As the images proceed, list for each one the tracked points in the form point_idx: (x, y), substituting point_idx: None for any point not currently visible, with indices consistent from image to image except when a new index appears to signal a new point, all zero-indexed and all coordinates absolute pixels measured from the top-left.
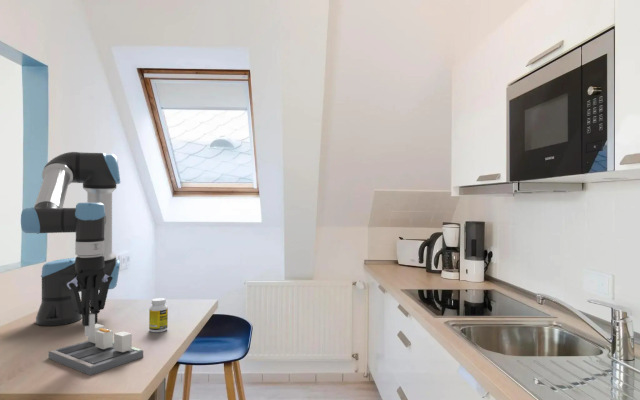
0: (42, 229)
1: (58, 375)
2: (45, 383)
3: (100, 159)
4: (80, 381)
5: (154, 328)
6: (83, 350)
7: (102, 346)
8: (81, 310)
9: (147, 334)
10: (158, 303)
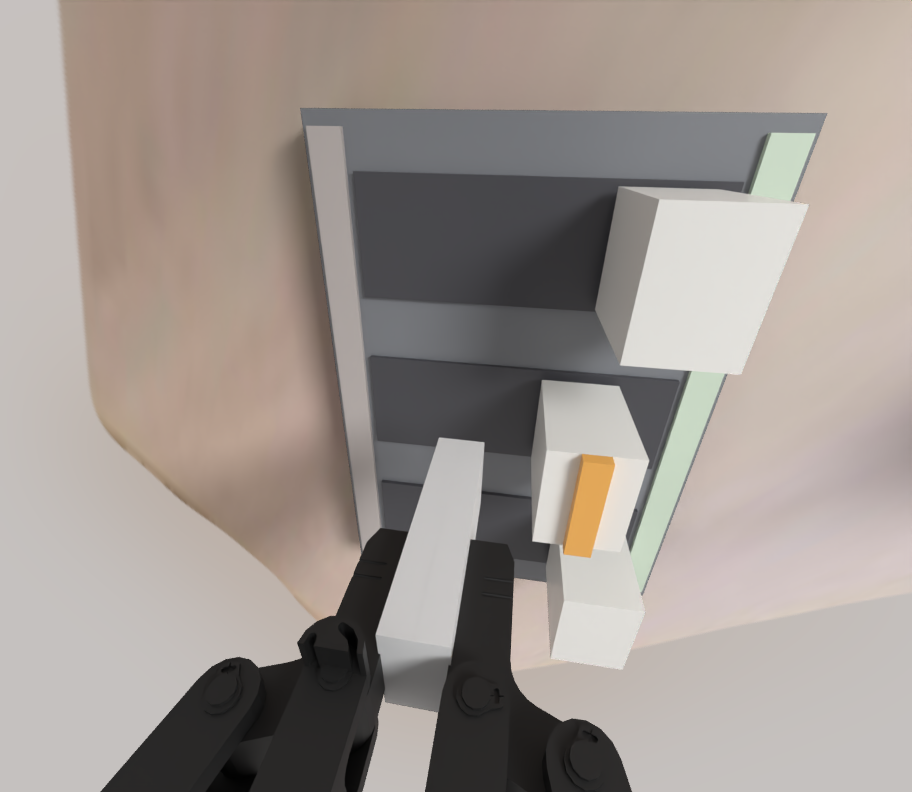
0: None
1: (284, 431)
2: (223, 457)
3: None
4: (324, 540)
5: None
6: (475, 335)
7: (531, 463)
8: (238, 783)
9: None
10: None
